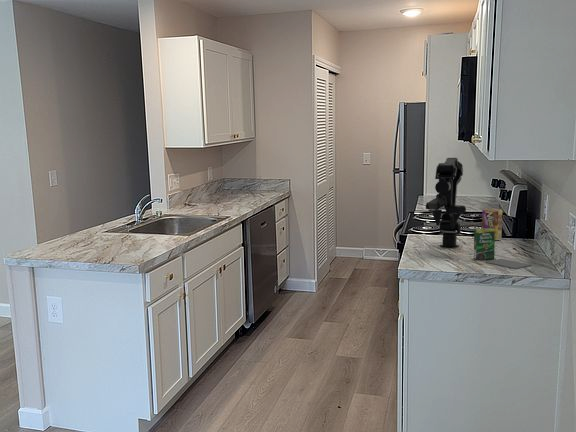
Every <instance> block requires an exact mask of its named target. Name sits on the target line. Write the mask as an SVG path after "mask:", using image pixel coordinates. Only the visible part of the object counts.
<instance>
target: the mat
mask: <svg viewBox="0 0 576 432" xmlns="http://www.w3.org/2000/svg"><path fill="white" fill-rule="evenodd" d="M485 264H490V265H494V266H499V267H503V268H507V269H512V270H518V269H522V268H527V267H532V266H533V265H532V264H530V263H526V262H525V263H524V262H520V261H517V260H510V259H505V258H497V259H491V260H488V261H485Z"/></svg>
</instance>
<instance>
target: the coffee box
mask: <svg viewBox="0 0 576 432" xmlns="http://www.w3.org/2000/svg"><path fill="white" fill-rule="evenodd" d="M495 244H496V243H495V229H494V228H482V227H481V228H480V227H479V228H474V229H473V259H475V260H476V261H478V260H495V247H496V246H495Z"/></svg>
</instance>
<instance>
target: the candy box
mask: <svg viewBox="0 0 576 432" xmlns="http://www.w3.org/2000/svg"><path fill="white" fill-rule="evenodd" d="M481 212H482V213H481V228H494V229H495V240H499V241H502V234H503V233H502V232H503V231H502V230H503V229H502V228H503V227H502V226H503V209H493V208H483V209H482V211H481Z"/></svg>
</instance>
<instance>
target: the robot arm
mask: <svg viewBox="0 0 576 432" xmlns="http://www.w3.org/2000/svg"><path fill="white" fill-rule="evenodd" d="M463 175H464V165H463V164H462V162H460V161H459V158H458V157H446V159H445V161H444V162H439V163H438V165H436V169H435V177H434V179H435V180H438V181H437V182H436V183H435V186H434V188H435V191H436V192H437V194H436V195H435V198H434V199H431V200H429V201H428V202H426V204H425V210H427V211H428V212H430V213H431V214H432V216H433V219H434V222H435V225H436V226H437V227H438V226H439V234H441V235H442V244H439V246H440V247H443V248H449V249H453V248H458V247H460V245H459V244H457V235H461V229H462V228H461V224H460V222H459V218H460V216H461V215H463V214H464V213H466V212H467V207H466V206H465V205H462V204H458V205H457V194H458V185H459V183H460V182H461V181H462V177H463ZM443 210H445V212H444V213H442V212H443Z"/></svg>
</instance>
